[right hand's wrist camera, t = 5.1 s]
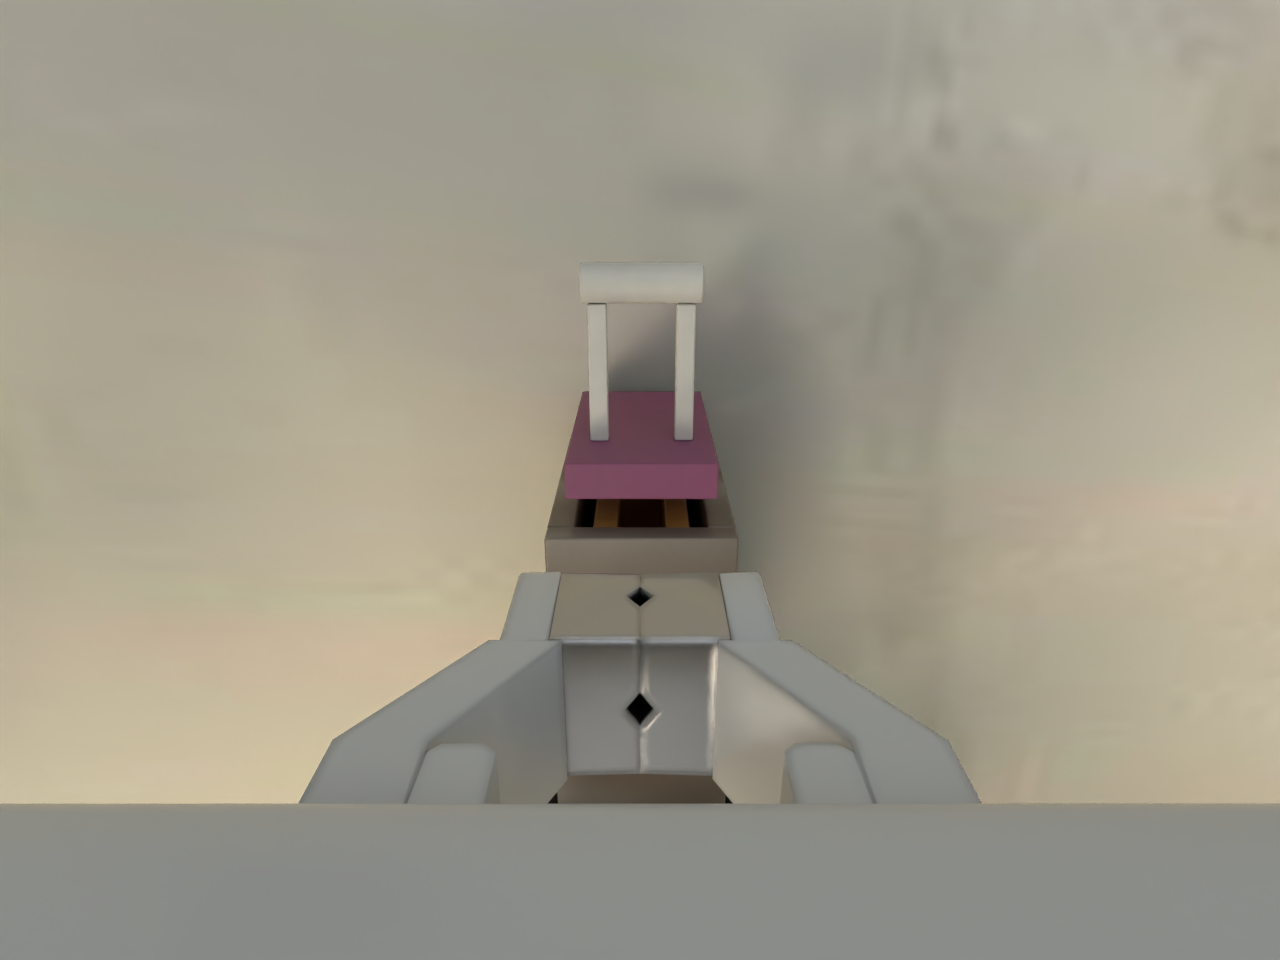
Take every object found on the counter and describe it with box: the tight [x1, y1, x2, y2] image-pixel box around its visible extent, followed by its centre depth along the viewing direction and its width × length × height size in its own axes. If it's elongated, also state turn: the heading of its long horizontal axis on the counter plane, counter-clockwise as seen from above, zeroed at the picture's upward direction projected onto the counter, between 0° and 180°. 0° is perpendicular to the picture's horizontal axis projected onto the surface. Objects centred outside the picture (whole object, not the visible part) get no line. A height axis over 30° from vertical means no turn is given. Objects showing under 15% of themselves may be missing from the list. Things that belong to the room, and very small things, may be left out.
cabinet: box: [544, 435, 739, 804], centre depth 32 cm, size 17×6×10 cm, turn 0°
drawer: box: [564, 262, 719, 527], centre depth 30 cm, size 21×5×8 cm, turn 0°
